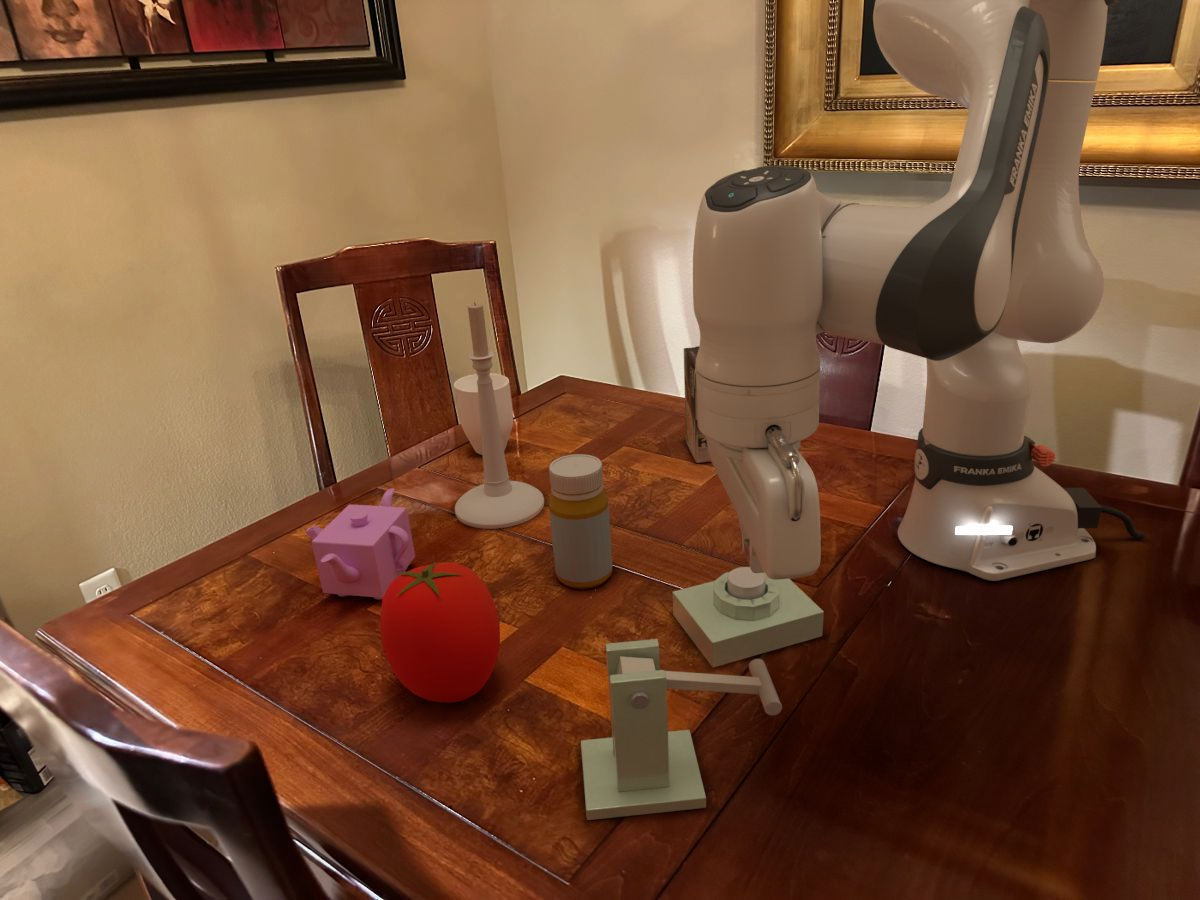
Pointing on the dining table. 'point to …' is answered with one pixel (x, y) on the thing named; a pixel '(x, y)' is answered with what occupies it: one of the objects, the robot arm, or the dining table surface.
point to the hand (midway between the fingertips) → (757, 563)
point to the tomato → (440, 631)
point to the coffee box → (693, 410)
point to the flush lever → (714, 681)
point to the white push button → (745, 583)
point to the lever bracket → (639, 746)
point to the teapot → (363, 549)
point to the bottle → (580, 521)
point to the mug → (470, 407)
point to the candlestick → (493, 453)
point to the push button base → (745, 619)
